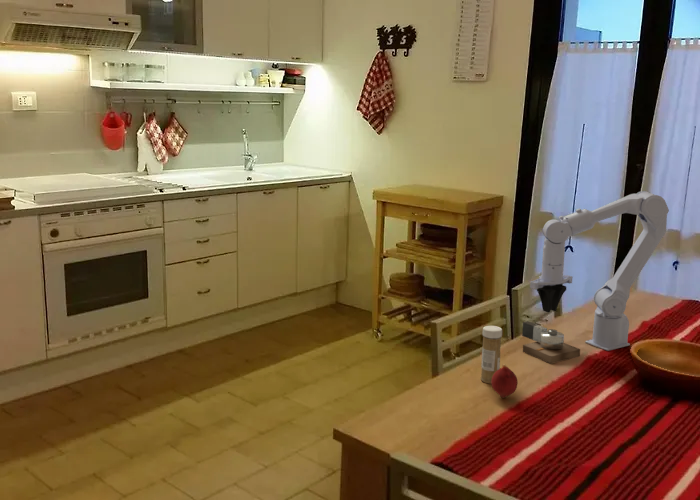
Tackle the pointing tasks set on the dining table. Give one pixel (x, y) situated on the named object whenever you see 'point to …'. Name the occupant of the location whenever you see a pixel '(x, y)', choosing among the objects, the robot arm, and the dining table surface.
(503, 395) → the onion
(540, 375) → the dining table surface
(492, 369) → the sprinkles bottle
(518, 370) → the dining table surface
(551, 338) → the lever handle
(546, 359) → the walnut base
